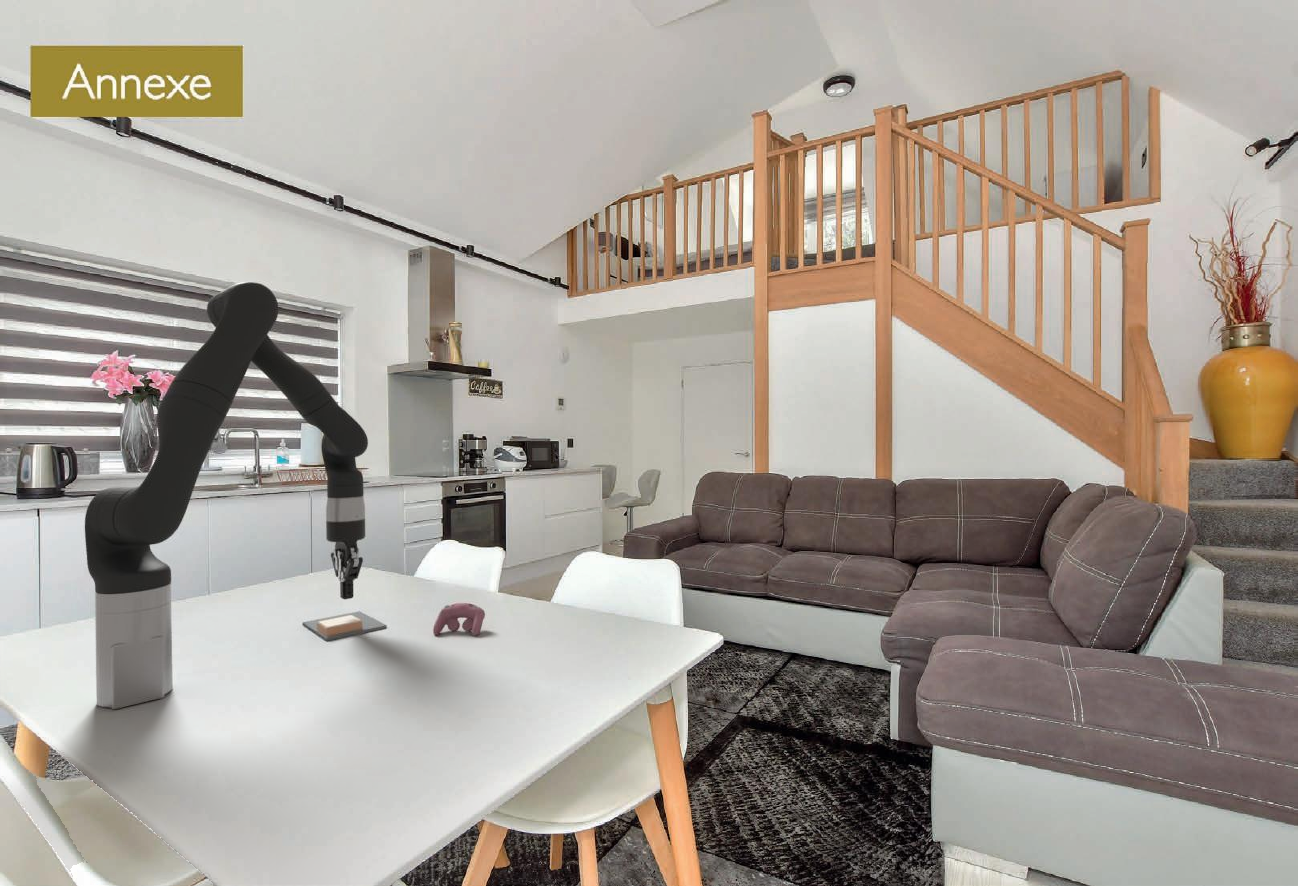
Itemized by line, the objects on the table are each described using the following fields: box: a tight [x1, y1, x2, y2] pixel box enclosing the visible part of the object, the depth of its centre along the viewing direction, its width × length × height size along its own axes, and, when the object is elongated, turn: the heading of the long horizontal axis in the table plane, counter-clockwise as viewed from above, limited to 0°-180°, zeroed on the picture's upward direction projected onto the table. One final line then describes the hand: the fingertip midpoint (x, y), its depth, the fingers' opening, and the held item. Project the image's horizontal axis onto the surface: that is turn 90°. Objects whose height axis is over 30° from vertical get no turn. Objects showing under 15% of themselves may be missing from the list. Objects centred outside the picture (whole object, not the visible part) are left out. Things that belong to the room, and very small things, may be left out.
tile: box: [317, 615, 362, 636], centre depth 128 cm, size 2×6×7 cm
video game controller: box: [432, 602, 486, 637], centre depth 128 cm, size 10×5×7 cm, turn 85°
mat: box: [302, 611, 387, 642], centre depth 132 cm, size 16×12×1 cm
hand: (346, 598), depth 131 cm, fingers closed
